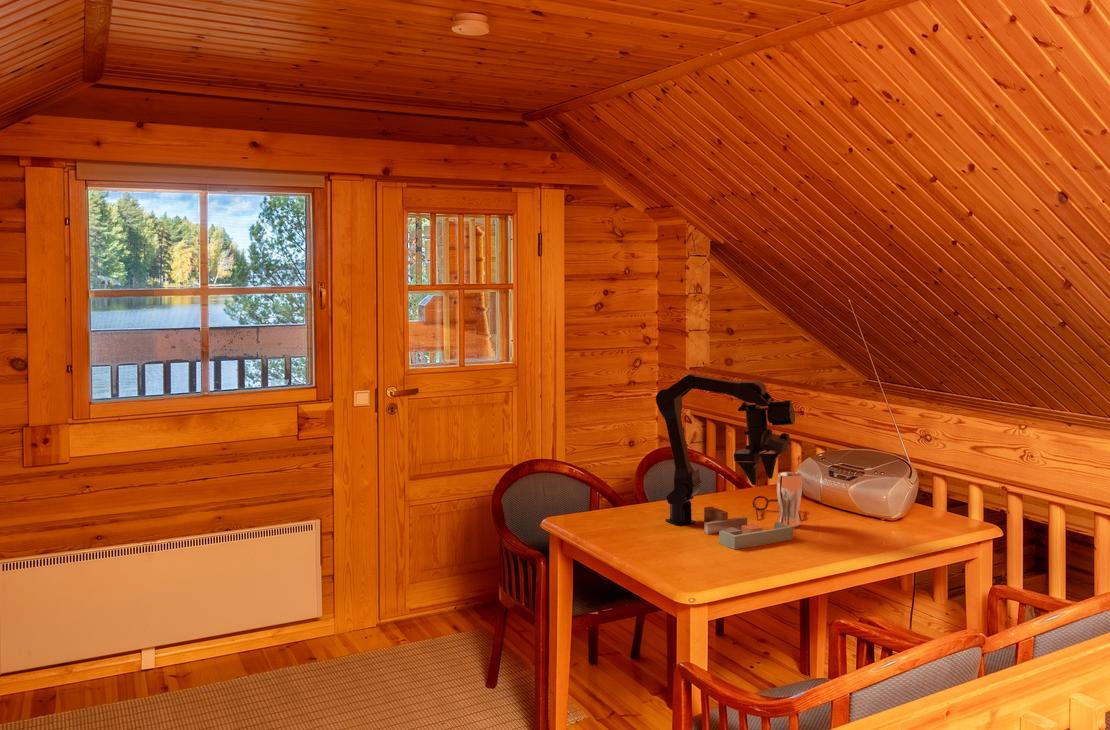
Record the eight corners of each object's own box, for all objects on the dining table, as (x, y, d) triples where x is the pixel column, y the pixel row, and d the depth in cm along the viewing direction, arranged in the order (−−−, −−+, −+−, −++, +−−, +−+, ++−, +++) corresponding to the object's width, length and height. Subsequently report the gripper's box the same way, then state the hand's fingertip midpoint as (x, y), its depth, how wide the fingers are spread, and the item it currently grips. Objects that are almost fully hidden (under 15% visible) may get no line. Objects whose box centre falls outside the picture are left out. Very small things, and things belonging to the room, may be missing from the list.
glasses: (796, 511, 302) (796, 495, 302) (802, 522, 289) (802, 506, 289) (752, 511, 304) (752, 494, 303) (756, 521, 291) (756, 505, 290)
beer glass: (801, 529, 281) (802, 477, 279) (776, 528, 282) (777, 476, 281) (800, 523, 287) (801, 472, 286) (775, 521, 289) (776, 471, 287)
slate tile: (721, 538, 273) (721, 529, 273) (732, 536, 275) (732, 527, 274) (730, 541, 269) (730, 532, 269) (741, 539, 271) (741, 530, 271)
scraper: (687, 527, 284) (687, 509, 283) (726, 520, 291) (727, 504, 290) (707, 534, 276) (707, 517, 275) (747, 528, 282) (747, 510, 282)
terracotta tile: (741, 534, 276) (741, 525, 276) (752, 532, 278) (752, 524, 278) (750, 538, 273) (750, 529, 272) (761, 536, 274) (762, 527, 274)
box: (719, 543, 266) (719, 530, 266) (777, 534, 276) (777, 521, 275) (734, 549, 261) (734, 536, 260) (793, 539, 270) (793, 526, 270)
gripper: (766, 431, 264) (772, 489, 264) (799, 421, 278) (804, 476, 278) (730, 431, 271) (735, 487, 272) (763, 421, 285) (768, 475, 286)
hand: (762, 481), depth 277 cm, fingers open, 9 cm apart
